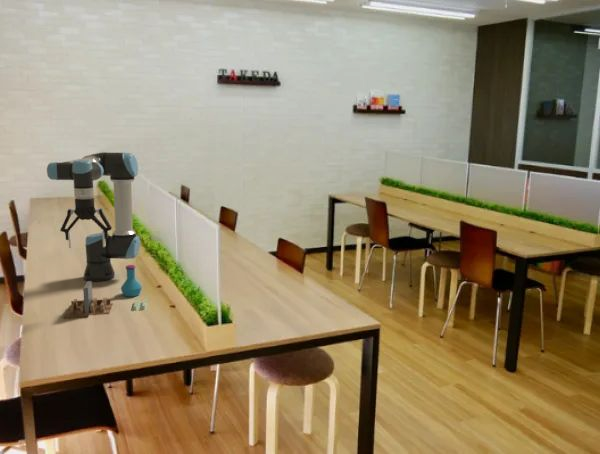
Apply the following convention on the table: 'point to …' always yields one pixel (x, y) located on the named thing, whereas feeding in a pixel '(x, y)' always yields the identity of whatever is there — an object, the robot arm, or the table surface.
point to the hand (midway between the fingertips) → (87, 246)
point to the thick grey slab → (87, 296)
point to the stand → (140, 305)
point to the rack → (95, 308)
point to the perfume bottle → (131, 283)
